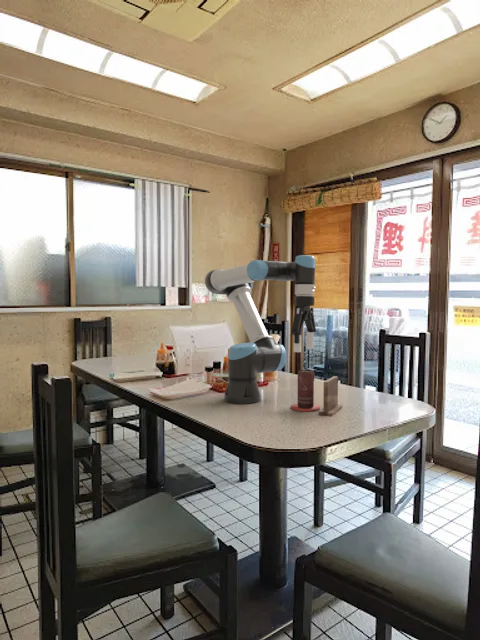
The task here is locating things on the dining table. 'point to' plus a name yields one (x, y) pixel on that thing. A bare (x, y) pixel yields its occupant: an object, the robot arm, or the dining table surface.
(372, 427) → the dining table surface
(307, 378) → the can
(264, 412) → the dining table surface
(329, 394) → the screen
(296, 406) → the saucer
